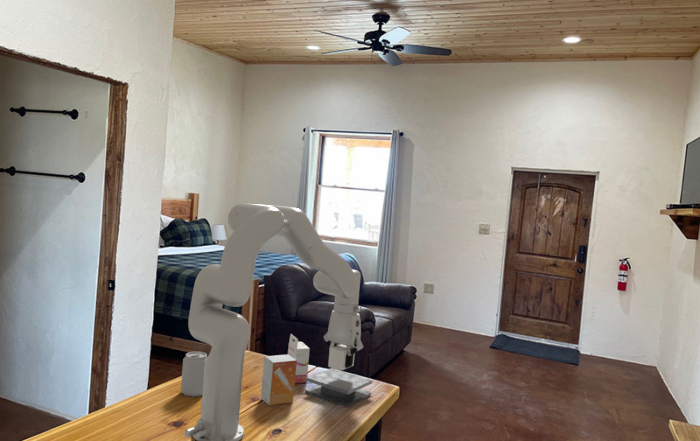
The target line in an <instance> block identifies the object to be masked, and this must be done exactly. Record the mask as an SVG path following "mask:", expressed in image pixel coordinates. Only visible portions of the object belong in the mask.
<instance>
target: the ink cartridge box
mask: <svg viewBox="0 0 700 441" xmlns="http://www.w3.org/2000/svg"><path fill="white" fill-rule="evenodd" d="M310 350H311V349H310V347H308V345H306V344H305V343H304V342H303V341H299V338H297V337H296V336H294V335H293V334H292V333H290V335H289V342H288V349H287V354H288V355H290V356H291V357H293V358H294V359H296V360H297V365H296V375H295V384H303V383H304V384H305V383H308V381H306V377H308V371H309V358H310Z"/></svg>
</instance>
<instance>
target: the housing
mask: <svg viewBox="0 0 700 441" xmlns="http://www.w3.org/2000/svg"><path fill="white" fill-rule="evenodd" d="M355 354H356V353H355ZM355 354H354V355H353V364H352V366H351V367H353V366H354V365H355V364H354V362H355ZM346 355H348V354H347V347H346V345H342V344H338V345H337V346H334V347H331V348H330V350H329V354H328V363H327V364H328V366H327V367H328V368H330V369H331V368H333V369H337V370H340V371H344V370H346V369H349V368H351V367H348V368H345V361H346Z"/></svg>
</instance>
